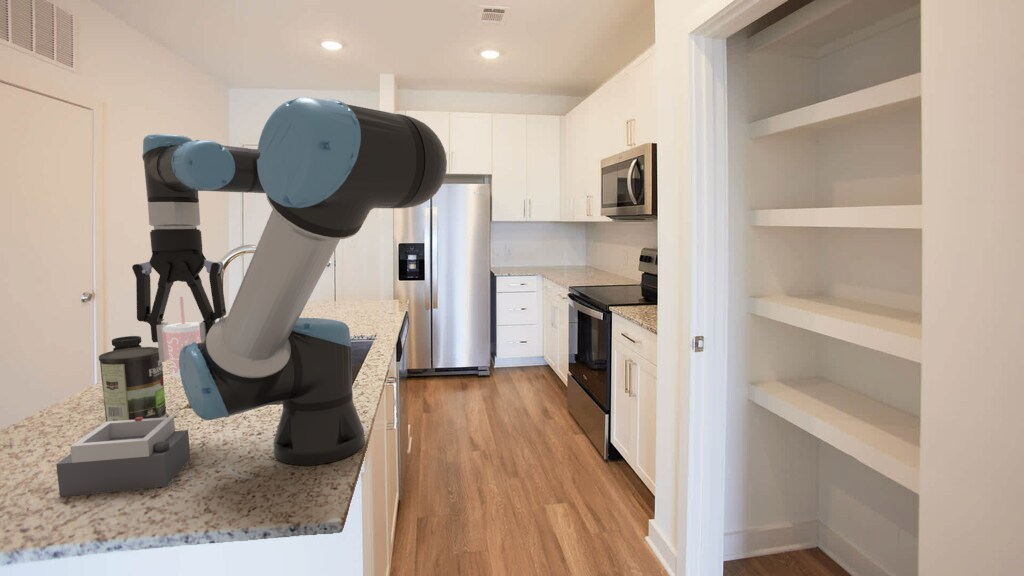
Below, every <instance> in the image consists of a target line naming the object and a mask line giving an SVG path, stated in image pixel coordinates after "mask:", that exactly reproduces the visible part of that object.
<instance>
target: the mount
mask: <svg viewBox="0 0 1024 576" xmlns="http://www.w3.org/2000/svg"><path fill="white" fill-rule="evenodd" d="M189 436H190V435H189V429H186V430H185V429H183V430H176V427H175V417H174V416H169V417H168V416H166V417H164V418H150V419H143V417H137V418H135V420H122V421H108V422H106V421H104V422H103V423H102V424H100V425H99V426H98V427H96V428H95V429H93V430H92V431H91V432H89V433H87V434H86V435H84V436H83V437H82V438H81V439H79V440H77V441H76V442H75V443H73V444H72V445H70V446H69V447H70V454H68V455H66V457H64V458H62V459H61V460H59V462H57V463H56V464H55V465H56V474H57V482H58V483H57V484H58V491H59V492H58V493H59V498H62V497H70V496H71V497H72V496H80V495H82V496H83V495H91V494H102V493H112V492H122V491H123V492H124V491H135V490H144V489H154V488H164V487H168V485H170V483H171V482H172V480H173V479H174V478H175V477H176V476H177V475H178V474H179V472H180V471H181V470H182V469H183V468H184V467H185V465H186V464H187V463H188V461H190V460H191V449H190V448H191V447H190V437H189ZM183 466H184V467H183Z"/></svg>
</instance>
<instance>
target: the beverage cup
mask: <svg viewBox="0 0 1024 576" xmlns="http://www.w3.org/2000/svg"><path fill="white" fill-rule="evenodd" d="M179 304H180V317H181V322H178V323H171V324H168V325H166V326H164V327H163V329H164V332H166V338H167V344H168V350H169V356H170V359H169V361H170V368H171V374H172V375H171V376H172V378H174V379H181V375H180V369H179V355H180V352H181V349H182V348H183V347H184V346H186V345H190V344H192V343H193V342H196V343H201V338H200V325H199V323H201V321H190V322H189V321H188V322H187V321H186V320H185V319H186V318H185V308H184V297H183V296H179Z"/></svg>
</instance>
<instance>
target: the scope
mask: <svg viewBox="0 0 1024 576" xmlns="http://www.w3.org/2000/svg"><path fill="white" fill-rule="evenodd" d="M141 343H142V337H141V336H138V335H130V336H121V337H115V338H112V339H111V345H112V346H113V349H112V351H115V350H120V349H127V348H136V347H142V345H141Z"/></svg>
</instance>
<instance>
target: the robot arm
mask: <svg viewBox="0 0 1024 576" xmlns="http://www.w3.org/2000/svg"><path fill="white" fill-rule="evenodd" d="M443 145H444V144H443V143H442V140H440V138H439V136H438V135H437V134H436V132H435V131H434V130H433V129H432V128H431V127H430V126H429V125H427V124H426V123H424V122H422V121H420V120H419V119H417V118H414V117H412V116H410V115H406V114H401V113H395V112H389V111H384V110H379V109H378V110H377V109H372V108H367V107H362V106H357V105H351V104H348V103H345V102H343V101H340V100H337V99H335V98H327V97H326V98H313V97H307V96H306V97H305V96H303V97H297V98H292V99H289V100H286V101H285V102H283V103H282V104H280V105H279V106H277V108H275V110H274V111H273V112H272V113H271V115H270V116H269V117H268V118H267V121H266V122H265V124H264V126H263V129H262V131H261V134H260V137H259V141H258V145H257V146H258V147H257V148H247V147H242V146H240V147H239V146H230V145H223V144H220V143H219V142H216V141H213V140H206V139H205V140H204V139H203V140H200V139H192V138H190V137H188V136H184V135H179V134H171V133H170V134H169V133H166V134H165V133H156V134H147V135H145V136H144V138H143V141H142V151H143V153H142V155H141V156H142V160H143V165H144V177H145V185H146V187H145V188H146V198H147V199H146V200H147V212H148V214H147V215H148V225H150V227H153V229H151V231H149V237H150V247H151V248H150V249H151V257H150V259H149V261H146V262H143V263H135V264H133V265H132V271H133V273H134V276H135V278H136V280H135V282H136V283H135V284H136V285H135V286H136V320H137V321H138V322H144V323H147V324H149V325H150V334H151V341H152V343H157V348H158V350H159V361H160V362H162V363H163V362H167V361H168V360H170V356H169V350H168V344H167V338H166V332H164V329H163V327H164V326H166V325H169V323H168V321H166V322H164V320H165V318H164V315H165V311H166V307H167V304H168V301H169V297H170V293H171V289H172V287H173V286H174V283H175V282H182V283H183V282H184V283H186V285H187V287H189V289H190V291H191V294H192V295H193V299H194V300H195V303H196V305H197V308H198V309H199V312H200V314H201V316H202V318H203V320H202V322H201V321H200V322H201V323H199V325H200V338H201V343H196V342H193V343H192V344H190V345H186V346H184V347H183V348H182V349H181V352H180V355H179V369H180V375H181V378H180V381H181V383H182V387H183V390H184V394H185V397H186V399H187V401H188V404H189V406H190V407H191V409H192V410H193V413H195V415H196V416H197V417H199V418H200V419H202V420H205V421H212V420H217V419H221V418H227V419H228V418H229V417H232V416H236V415H238V414H241V413H246V412H249V411H252V410H256V409H260V408H264V407H267V406H270V405H273V404H276V403H280V402H281V403H282V410H281V411H282V412H281V415H280V419H279V421H278V422H279V423H278V425H277V428H276V431H275V436H274V439H273V453H274V454H273V455H274V457H275V458H276V459H277V460H278V461H280V462H282V463H285V464H289V465H296V466H311V465H313V466H314V465H315V466H316V465H322V464H327V463H332V462H336V461H339V460H344V459H345V458H348V457H350V456H352V455H353V454H355V453H357V452H359V451H360V450H361V449H362V448H363V446H364V444H365V430H364V426H363V424H362V422H361V419H360V416H359V413H358V412H357V409H356V405H355V404H354V401H353V400H354V399H353V398H354V397H353V395H354V394H353V371H352V348H353V344H352V341H351V340H352V339H351V332H350V329H349V325H347V324H346V322H343V321H340V320H337V319H329V318H319V317H300V316H301V315H302V313H303V311H304V309H305V307H306V306H307V303H308V302H309V300H310V298H311V296H312V293H313V292H314V290H315V289H316V286H317V284H318V282H319V280H320V279H321V277H322V276H323V273H324V271H325V270H326V267H327V266H328V264H329V262H330V260H331V258H332V256H333V254H334V252H335V250H336V249H337V246H338V244H339V243H340V240H345V239H349V238H351V237H354V236H355V235H356V234H357V233H358V232H359V231H360V230H361V228H362V226H364V225H363V224H364V223H365V222H366V219H367V217H368V216H369V213H370V212H371V211H372V210H373V209H407V208H413V207H417V206H420V205H422V204H424V203H427V202H428V201H429V200H431V199H432V198H433V197H434V196H435V195H436V194H437V193H438V192H439V190H440V189H441V187H442V185H443V183H444V181H445V178H446V174H447V167H448V161H447V154H446V151H445V147H444V146H443ZM199 192H222V193H223V192H224V193H229V192H230V193H247V194H248V193H249V194H250V193H252V194H253V193H254V194H265V195H266V200H267V202H268V204H269V206H270V207H271V212H270V215H269V217H268V219H267V221H266V224H265V226H264V229H263V231H262V234H261V236H260V239H259V240H258V243H257V246H256V248H255V250H254V253H253V255H252V258H251V260H250V262H249V264H248V266H247V269H246V272H245V274H244V276H243V279H242V281H241V283H240V286H239V289H238V291H237V293H236V296H235V298H234V300H233V303H232V305H231V307H230V310H229V312H228V315H227V316H226V314H227V310H226V303H225V295H224V289H223V282H222V281H223V280H222V271H223V267H224V264H223V262H221V261H217V262H216V261H212V260H207V258H206V257H205V255H204V253H203V241H202V240H203V237H202V230H200V229H198V227H199V226H200V225H201V214H200V212H201V211H200V199H199ZM204 267H205V268H206V269H205V270H206V272H207V273H208V275H209V276H208V278H209V284H210V291H211V297H212V298H211V299H212V305H213V307H212V305H211V303H210V299H209V298H208V295H207V293H206V291H205V288H204V286H203V282H202V278H201V277H200V273H201V271H202V270H203V268H204ZM152 269H153V270H154V271H155V272H156V273H157V274H158V275H159V278H158V281H157V289H156V294H155V297H154V302H153V305H151V304H152V303H151V300H152V298H151V292H152V291H151V273H153V272H152ZM151 306H152V308H151ZM224 316H225V317H224ZM222 317H223V318H222ZM220 318H221V319H220ZM218 319H219V320H218Z"/></svg>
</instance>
